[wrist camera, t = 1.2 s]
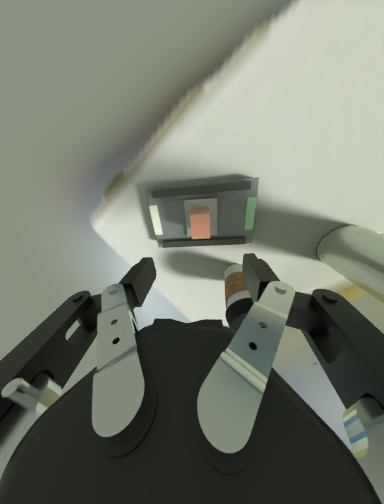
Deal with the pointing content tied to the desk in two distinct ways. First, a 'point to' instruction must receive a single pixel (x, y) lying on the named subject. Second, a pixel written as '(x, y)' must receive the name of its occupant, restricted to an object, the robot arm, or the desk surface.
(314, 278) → the desk surface
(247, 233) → the switch box
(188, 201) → the handle
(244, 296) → the coffee cup
